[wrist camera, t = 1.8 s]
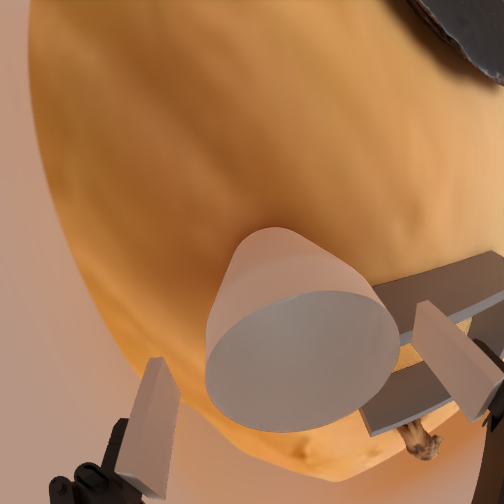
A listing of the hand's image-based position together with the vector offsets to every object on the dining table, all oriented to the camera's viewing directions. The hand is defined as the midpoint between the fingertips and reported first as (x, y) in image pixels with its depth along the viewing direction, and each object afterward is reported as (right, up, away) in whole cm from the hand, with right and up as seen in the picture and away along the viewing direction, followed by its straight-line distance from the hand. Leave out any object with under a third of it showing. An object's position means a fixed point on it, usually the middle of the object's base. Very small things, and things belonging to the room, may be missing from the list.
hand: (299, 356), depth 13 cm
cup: (-1, +4, +9) cm, 10 cm away
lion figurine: (+21, -19, +19) cm, 34 cm away
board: (+18, +31, +1) cm, 37 cm away
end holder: (+17, -3, +13) cm, 22 cm away
